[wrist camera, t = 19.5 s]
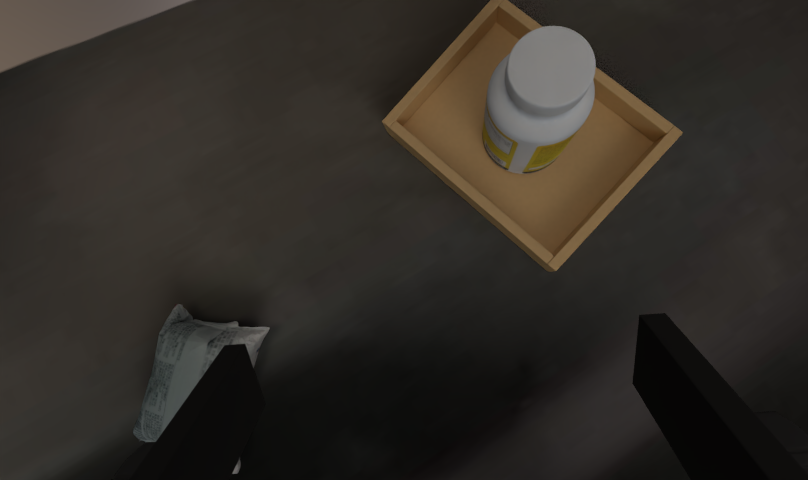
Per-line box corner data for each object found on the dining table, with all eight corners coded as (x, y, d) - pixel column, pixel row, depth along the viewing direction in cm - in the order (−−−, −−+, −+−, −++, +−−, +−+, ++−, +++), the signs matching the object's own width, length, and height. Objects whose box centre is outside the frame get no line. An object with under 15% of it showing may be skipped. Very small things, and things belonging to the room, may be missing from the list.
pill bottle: (579, 123, 34) (640, 44, 23) (534, 191, 34) (572, 146, 23) (509, 83, 35) (532, -12, 24) (465, 149, 35) (467, 86, 24)
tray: (387, 133, 37) (381, 121, 34) (494, 14, 36) (497, -8, 34) (548, 272, 34) (555, 271, 31) (665, 144, 34) (683, 132, 31)
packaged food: (282, 324, 36) (253, 331, 31) (249, 464, 36) (214, 494, 31) (191, 301, 38) (150, 304, 33) (158, 436, 37) (111, 459, 32)
